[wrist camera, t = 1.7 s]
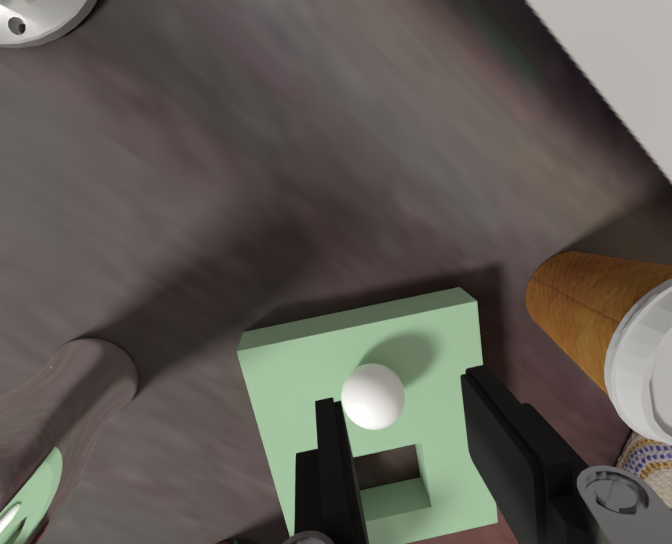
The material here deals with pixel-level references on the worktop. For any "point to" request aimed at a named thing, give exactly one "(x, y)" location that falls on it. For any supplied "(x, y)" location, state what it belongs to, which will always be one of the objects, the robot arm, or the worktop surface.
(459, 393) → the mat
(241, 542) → the deodorant
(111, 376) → the beer glass
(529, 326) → the worktop surface
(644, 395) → the disposable coffee cup
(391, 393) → the ball
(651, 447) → the decorative bottle
